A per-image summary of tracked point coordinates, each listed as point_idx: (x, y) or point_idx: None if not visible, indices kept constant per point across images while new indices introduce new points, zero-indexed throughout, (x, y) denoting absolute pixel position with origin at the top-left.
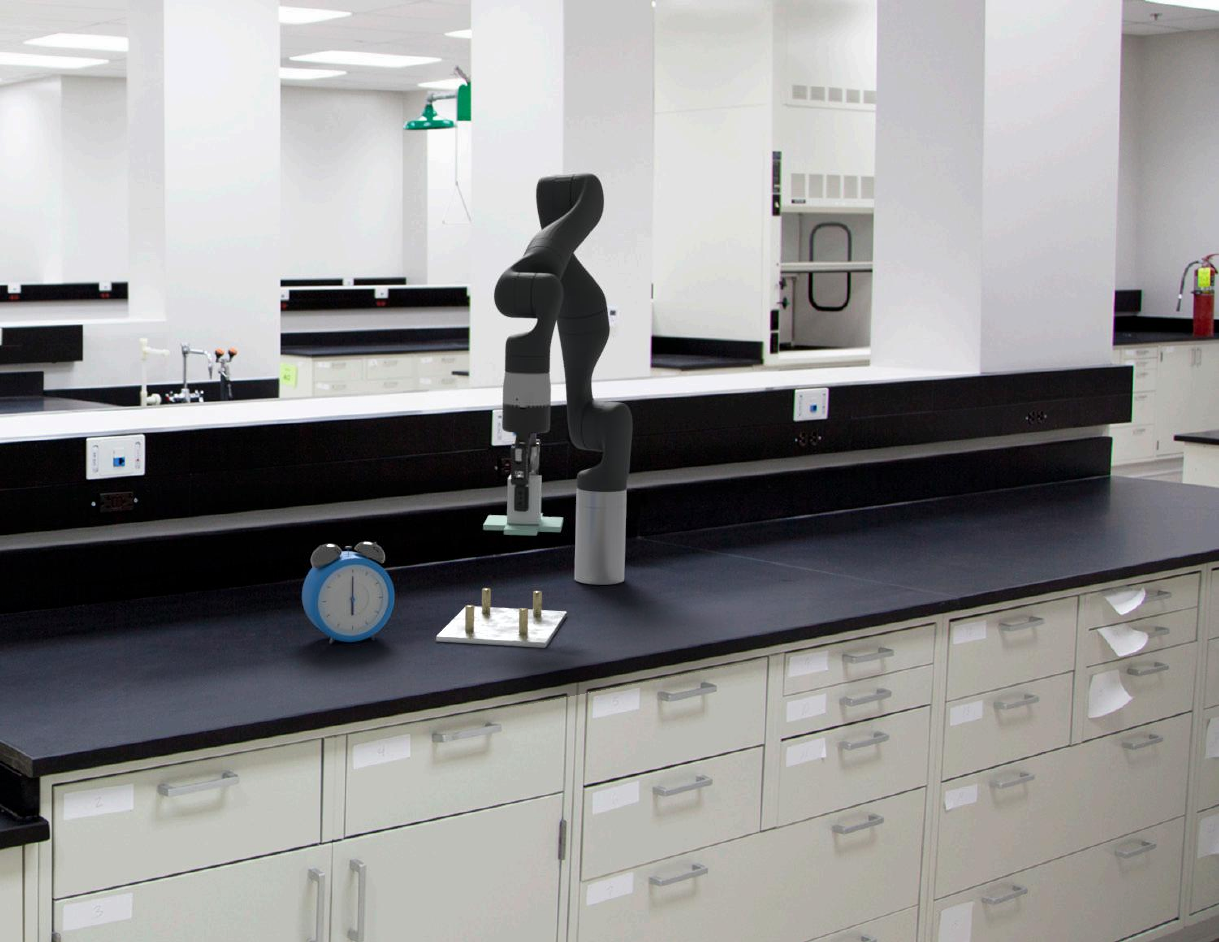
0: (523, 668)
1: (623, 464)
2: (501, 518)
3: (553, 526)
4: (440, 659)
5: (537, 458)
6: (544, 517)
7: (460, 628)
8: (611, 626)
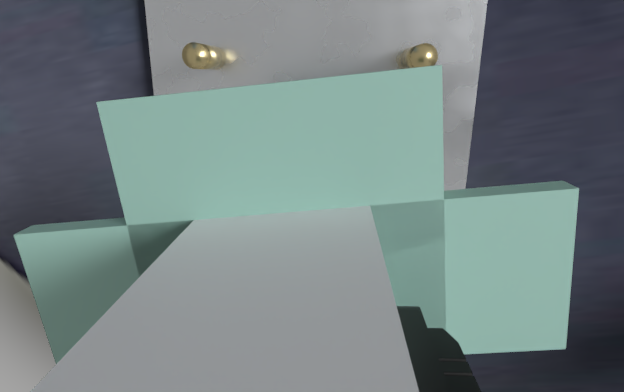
0: (15, 217)
1: None
2: (336, 165)
3: None
4: (8, 38)
5: None
6: None
7: (234, 29)
8: None
